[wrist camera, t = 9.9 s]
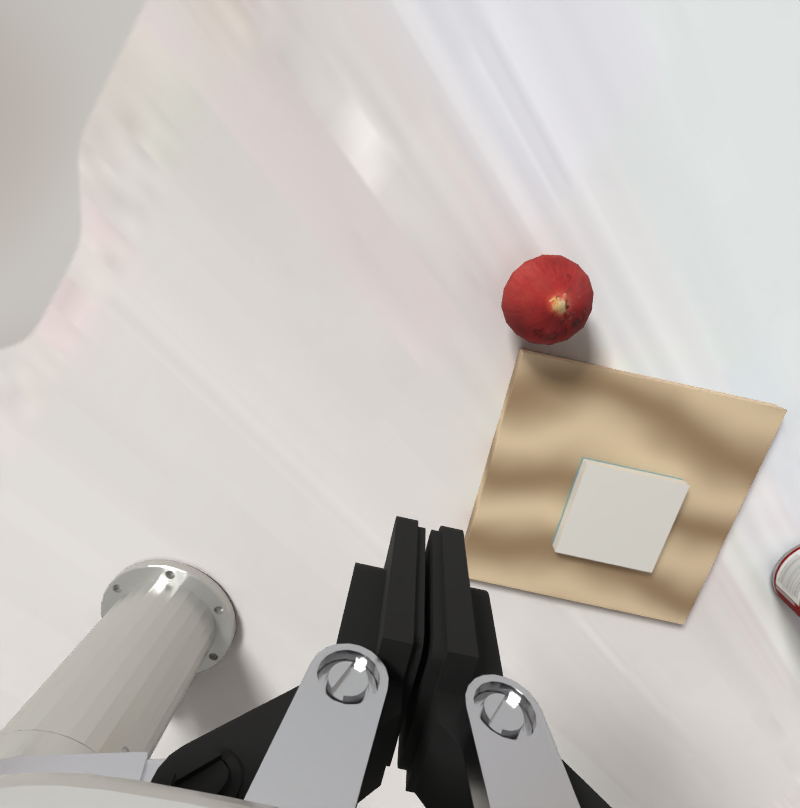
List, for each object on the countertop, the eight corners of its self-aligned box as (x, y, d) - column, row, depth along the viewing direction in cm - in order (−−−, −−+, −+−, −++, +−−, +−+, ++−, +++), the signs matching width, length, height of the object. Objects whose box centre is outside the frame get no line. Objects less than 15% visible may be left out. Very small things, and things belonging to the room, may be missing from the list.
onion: (590, 299, 36) (634, 311, 28) (528, 350, 37) (554, 375, 30) (541, 237, 35) (573, 233, 27) (479, 293, 36) (493, 303, 29)
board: (675, 612, 43) (683, 624, 42) (456, 565, 43) (457, 576, 42) (773, 404, 37) (787, 410, 36) (519, 348, 37) (523, 352, 36)
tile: (551, 543, 40) (645, 563, 40) (555, 551, 39) (651, 572, 39) (582, 457, 38) (681, 478, 38) (587, 463, 37) (689, 485, 37)
